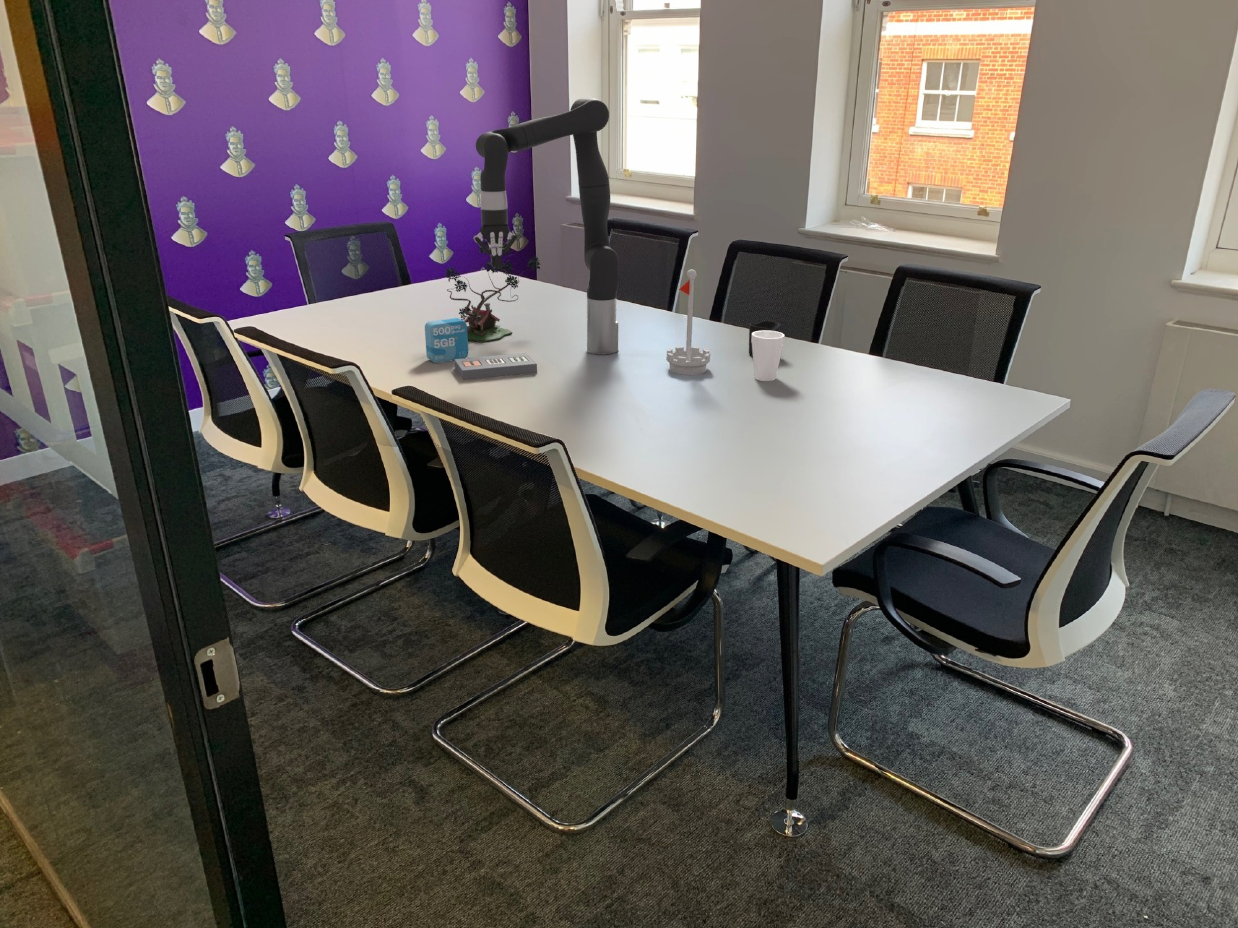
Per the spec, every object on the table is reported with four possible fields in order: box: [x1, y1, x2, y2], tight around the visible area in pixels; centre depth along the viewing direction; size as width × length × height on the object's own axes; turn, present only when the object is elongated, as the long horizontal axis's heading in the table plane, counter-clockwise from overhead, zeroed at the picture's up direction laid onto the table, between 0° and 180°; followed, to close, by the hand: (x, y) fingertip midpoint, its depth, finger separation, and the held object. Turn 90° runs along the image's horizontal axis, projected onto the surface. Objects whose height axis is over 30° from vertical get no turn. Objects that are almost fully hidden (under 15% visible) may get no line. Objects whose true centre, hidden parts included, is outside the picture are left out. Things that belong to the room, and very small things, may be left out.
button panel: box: [454, 352, 538, 381], centre depth 279 cm, size 22×12×3 cm, turn 110°
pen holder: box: [748, 320, 781, 357], centre depth 297 cm, size 9×9×10 cm
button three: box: [486, 359, 505, 365], centre depth 279 cm, size 5×5×3 cm
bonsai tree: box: [445, 240, 541, 343], centre depth 312 cm, size 35×24×32 cm
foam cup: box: [751, 330, 785, 382], centre depth 274 cm, size 10×9×13 cm
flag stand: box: [666, 268, 711, 376], centre depth 278 cm, size 13×13×30 cm
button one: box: [463, 361, 481, 367], centre depth 277 cm, size 5×5×3 cm
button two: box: [509, 357, 528, 362], centre depth 282 cm, size 5×5×3 cm
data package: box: [424, 317, 469, 364], centre depth 289 cm, size 12×4×12 cm, turn 123°
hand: (496, 268), depth 276 cm, fingers closed
